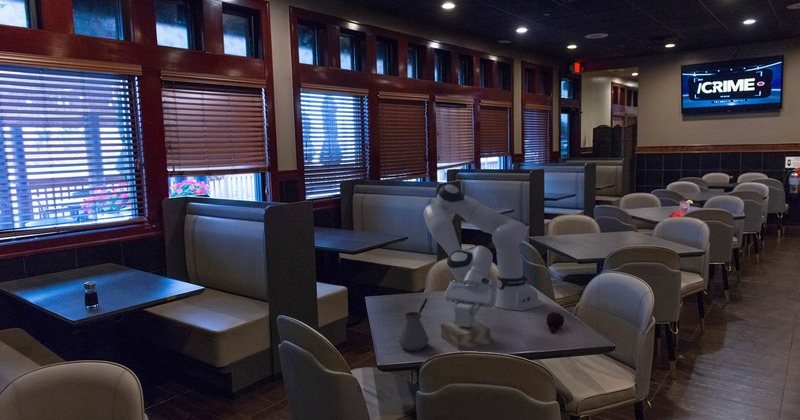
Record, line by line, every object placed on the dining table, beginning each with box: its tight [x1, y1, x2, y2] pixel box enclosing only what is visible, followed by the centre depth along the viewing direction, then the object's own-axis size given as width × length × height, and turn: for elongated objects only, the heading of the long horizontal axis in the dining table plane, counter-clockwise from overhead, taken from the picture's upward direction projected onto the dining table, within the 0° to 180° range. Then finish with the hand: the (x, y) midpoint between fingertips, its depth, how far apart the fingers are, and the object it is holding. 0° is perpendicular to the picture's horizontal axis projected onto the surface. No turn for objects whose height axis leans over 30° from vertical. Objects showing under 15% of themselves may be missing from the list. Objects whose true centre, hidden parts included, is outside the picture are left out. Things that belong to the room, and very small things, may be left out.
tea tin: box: [454, 302, 475, 327], centre depth 210 cm, size 6×6×8 cm
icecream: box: [545, 311, 565, 334], centre depth 222 cm, size 7×7×15 cm
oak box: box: [440, 319, 491, 350], centre depth 211 cm, size 14×14×6 cm
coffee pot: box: [398, 297, 431, 352], centre depth 210 cm, size 21×12×15 cm, turn 156°
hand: (464, 313), depth 210 cm, fingers closed on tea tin, 5 cm apart
